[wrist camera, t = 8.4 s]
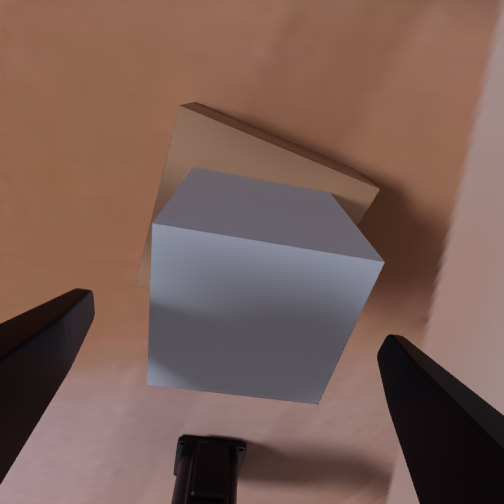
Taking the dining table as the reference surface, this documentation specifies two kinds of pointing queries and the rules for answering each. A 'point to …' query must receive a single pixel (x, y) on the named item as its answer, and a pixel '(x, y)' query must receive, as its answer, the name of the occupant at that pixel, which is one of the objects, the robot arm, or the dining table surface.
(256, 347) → the slate cube
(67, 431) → the dining table surface
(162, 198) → the tan flat square block
